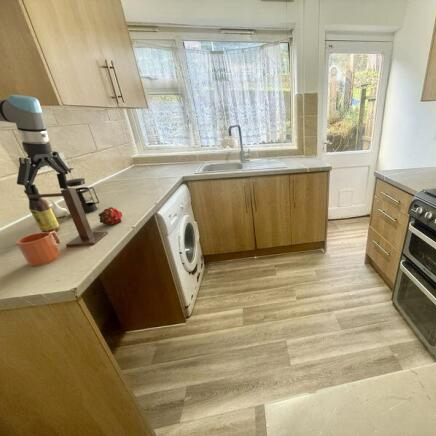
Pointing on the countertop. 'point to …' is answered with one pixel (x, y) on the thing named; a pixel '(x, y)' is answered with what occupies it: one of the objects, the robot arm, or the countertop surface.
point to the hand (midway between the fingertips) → (50, 194)
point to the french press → (86, 206)
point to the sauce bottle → (43, 214)
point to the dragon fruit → (110, 216)
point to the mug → (39, 248)
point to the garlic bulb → (58, 210)
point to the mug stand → (76, 218)
